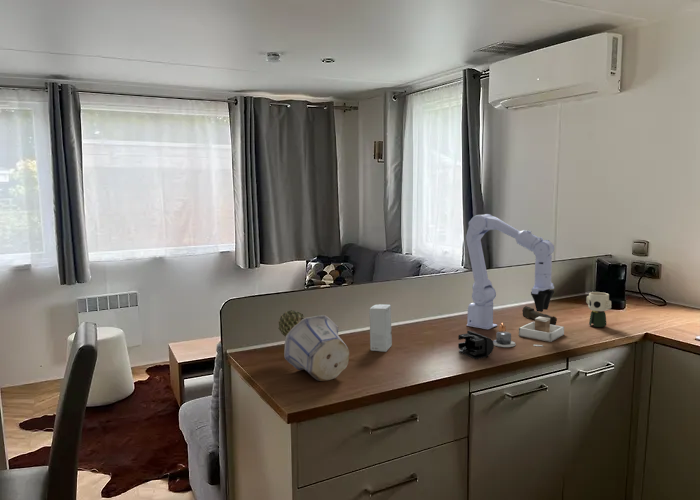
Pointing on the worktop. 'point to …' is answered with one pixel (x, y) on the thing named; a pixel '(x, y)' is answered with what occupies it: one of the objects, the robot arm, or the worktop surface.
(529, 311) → the hand tool
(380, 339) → the skincare box
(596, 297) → the character mug
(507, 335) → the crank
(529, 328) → the tray
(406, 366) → the worktop surface
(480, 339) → the end cap
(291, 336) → the potted plant
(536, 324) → the block
